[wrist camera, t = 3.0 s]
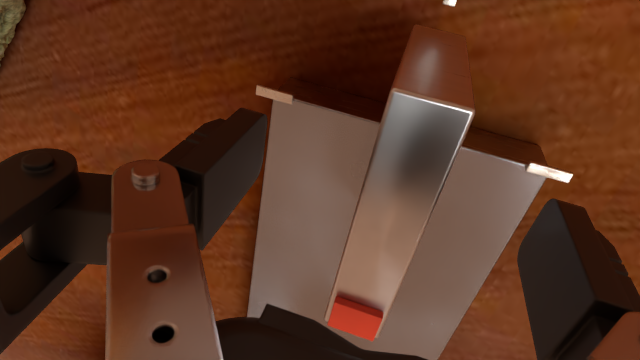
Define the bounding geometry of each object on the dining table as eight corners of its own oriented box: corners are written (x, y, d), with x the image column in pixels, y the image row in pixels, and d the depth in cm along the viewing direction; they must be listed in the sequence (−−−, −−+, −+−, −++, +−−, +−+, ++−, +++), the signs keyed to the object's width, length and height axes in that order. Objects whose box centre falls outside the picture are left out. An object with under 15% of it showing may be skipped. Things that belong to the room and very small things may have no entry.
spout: (414, 23, 12) (389, 91, 7) (466, 35, 12) (478, 115, 7) (360, 202, 16) (320, 328, 11) (399, 214, 16) (376, 348, 11)
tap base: (296, -90, 13) (273, -92, 12) (651, -11, 12) (686, 0, 10) (244, 335, 27) (230, 364, 25) (411, 396, 25) (408, 431, 24)
